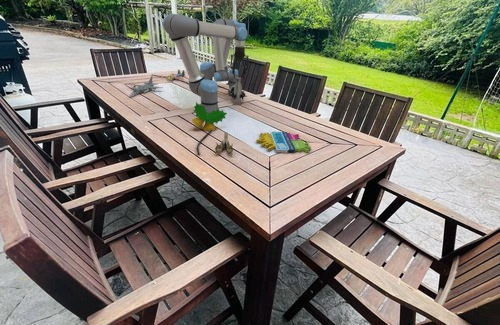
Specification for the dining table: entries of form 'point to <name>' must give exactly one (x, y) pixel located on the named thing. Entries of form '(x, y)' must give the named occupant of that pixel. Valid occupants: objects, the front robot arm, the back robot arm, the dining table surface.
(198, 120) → the ornament
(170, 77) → the toy
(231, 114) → the dining table surface
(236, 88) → the bottle
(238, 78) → the cap
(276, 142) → the packaged fuzzy gloves
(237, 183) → the dining table surface
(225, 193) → the dining table surface
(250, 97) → the dining table surface
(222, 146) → the jawbone
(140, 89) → the airplane
